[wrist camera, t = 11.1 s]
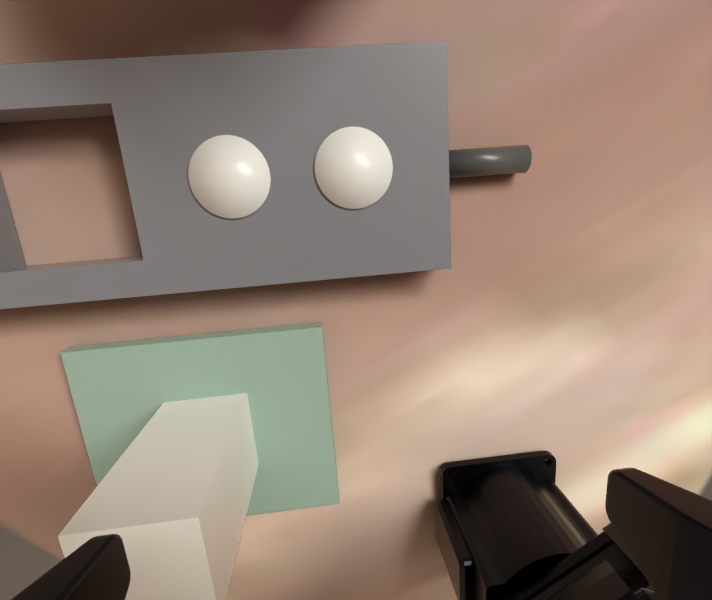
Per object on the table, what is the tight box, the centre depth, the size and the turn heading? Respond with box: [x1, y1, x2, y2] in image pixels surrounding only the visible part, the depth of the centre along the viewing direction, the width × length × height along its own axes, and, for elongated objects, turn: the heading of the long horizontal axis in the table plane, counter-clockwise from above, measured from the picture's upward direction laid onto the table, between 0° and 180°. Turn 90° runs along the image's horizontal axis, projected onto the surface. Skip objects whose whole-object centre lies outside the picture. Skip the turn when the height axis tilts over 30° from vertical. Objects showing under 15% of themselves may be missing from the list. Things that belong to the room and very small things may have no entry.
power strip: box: [0, 41, 532, 309], centre depth 17 cm, size 28×9×3 cm, turn 94°
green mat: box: [61, 322, 339, 516], centre depth 20 cm, size 12×10×1 cm
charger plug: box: [58, 393, 259, 600], centre depth 16 cm, size 4×4×8 cm
